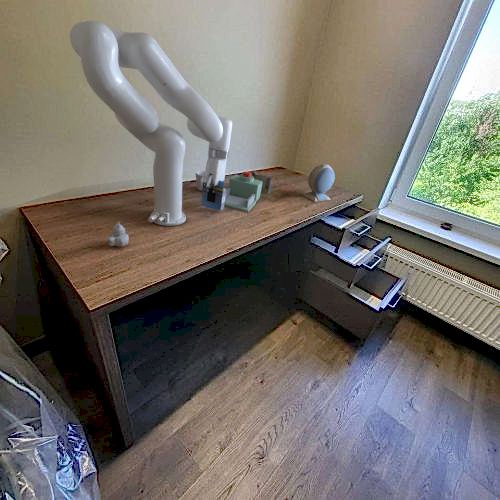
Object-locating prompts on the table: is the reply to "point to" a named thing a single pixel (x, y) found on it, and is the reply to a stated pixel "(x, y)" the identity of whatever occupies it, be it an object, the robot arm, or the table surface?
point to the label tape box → (218, 198)
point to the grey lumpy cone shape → (118, 236)
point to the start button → (247, 174)
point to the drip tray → (239, 201)
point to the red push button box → (245, 186)
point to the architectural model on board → (266, 182)
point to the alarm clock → (320, 182)
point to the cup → (199, 179)
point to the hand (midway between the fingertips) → (213, 199)
